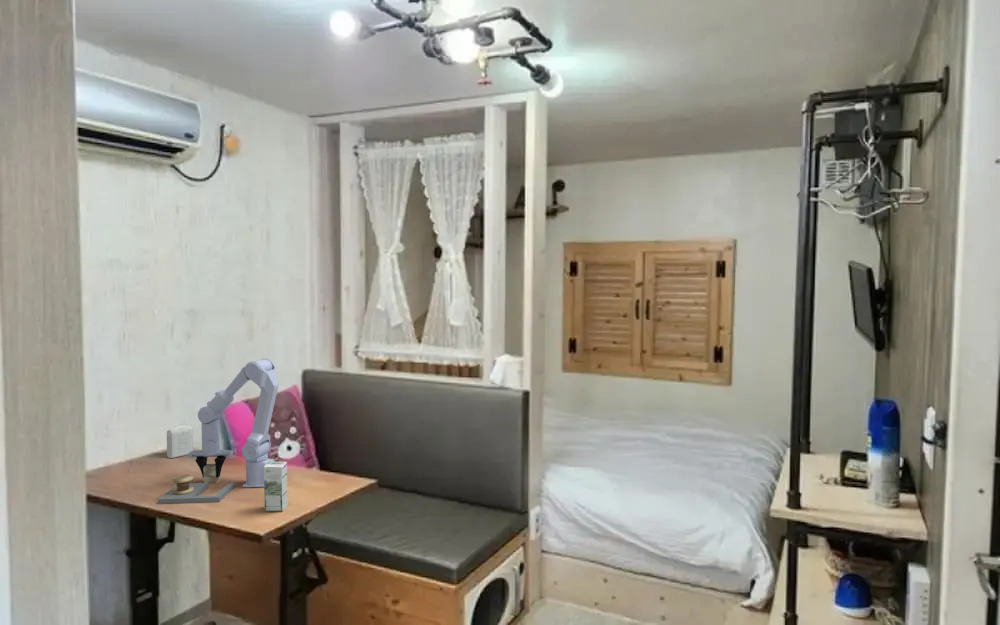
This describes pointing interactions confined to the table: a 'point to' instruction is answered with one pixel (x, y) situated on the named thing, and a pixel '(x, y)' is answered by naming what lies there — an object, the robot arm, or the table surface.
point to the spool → (182, 485)
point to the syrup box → (275, 486)
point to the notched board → (196, 494)
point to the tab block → (210, 473)
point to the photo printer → (179, 441)
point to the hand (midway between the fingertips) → (211, 476)
